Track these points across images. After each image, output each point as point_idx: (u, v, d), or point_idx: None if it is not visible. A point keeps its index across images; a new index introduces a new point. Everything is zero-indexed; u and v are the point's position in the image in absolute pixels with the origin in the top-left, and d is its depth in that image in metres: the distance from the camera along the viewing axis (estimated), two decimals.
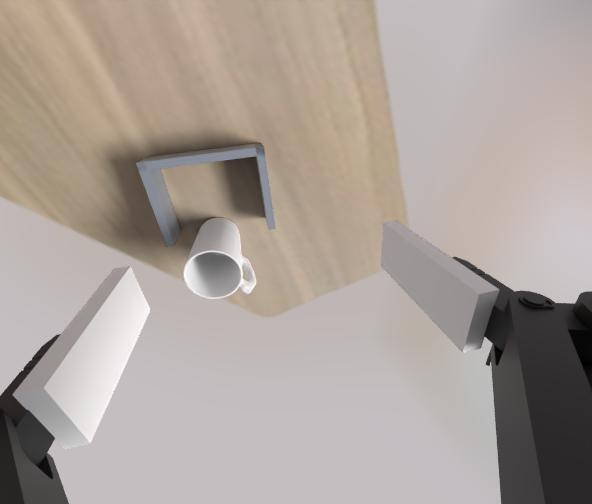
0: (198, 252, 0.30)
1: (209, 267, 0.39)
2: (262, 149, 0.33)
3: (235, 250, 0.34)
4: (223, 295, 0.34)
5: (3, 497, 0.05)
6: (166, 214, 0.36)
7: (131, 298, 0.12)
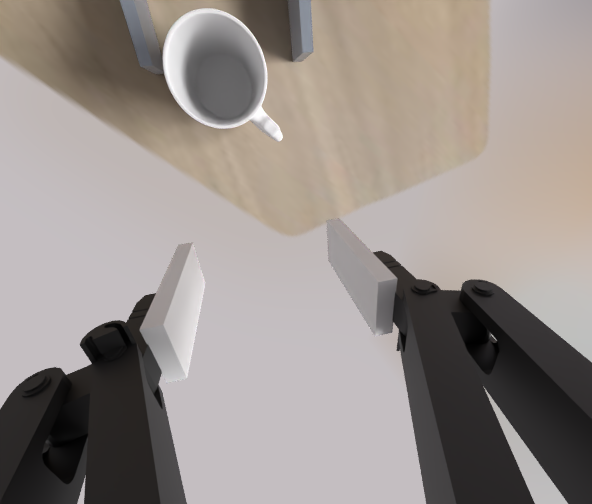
0: None
1: (209, 116, 0.25)
2: None
3: None
4: (233, 123, 0.20)
5: (135, 414, 0.06)
6: (139, 8, 0.22)
7: (195, 270, 0.14)
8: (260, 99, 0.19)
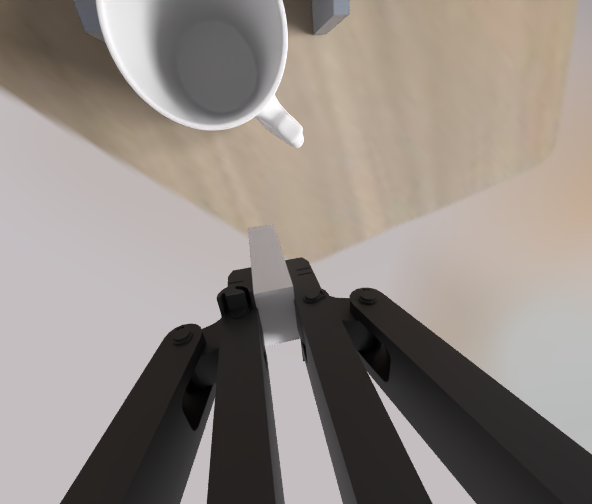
0: None
1: (195, 110, 0.17)
2: None
3: None
4: (229, 122, 0.12)
5: (253, 372, 0.07)
6: None
7: None
8: (275, 80, 0.11)
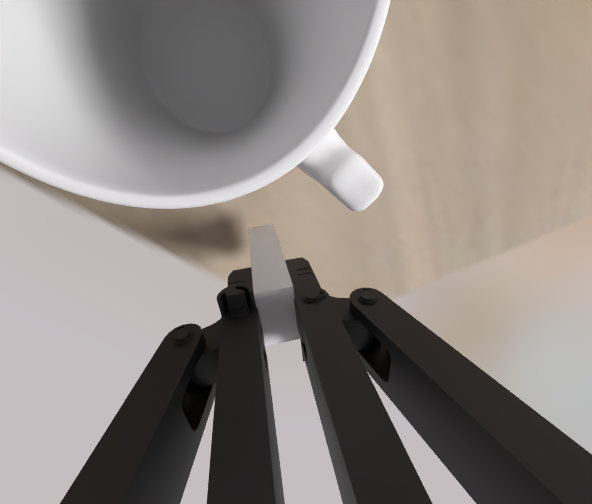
0: None
1: (167, 134, 0.10)
2: None
3: None
4: (223, 186, 0.04)
5: (253, 372, 0.07)
6: None
7: None
8: (348, 78, 0.04)
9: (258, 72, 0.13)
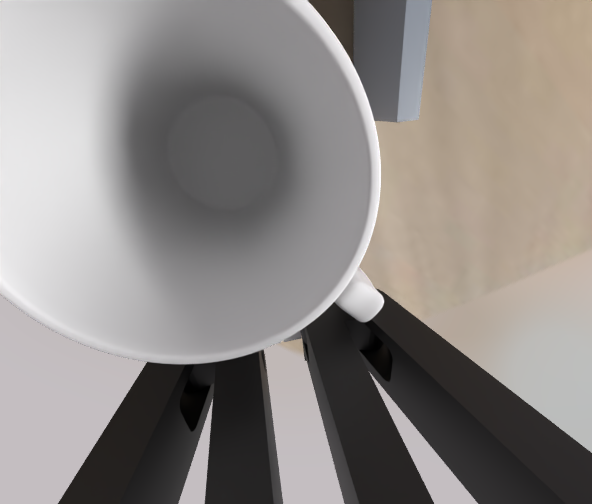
0: None
1: (194, 232, 0.11)
2: None
3: None
4: (257, 340, 0.06)
5: (251, 372, 0.07)
6: None
7: None
8: (349, 263, 0.05)
9: (268, 157, 0.14)
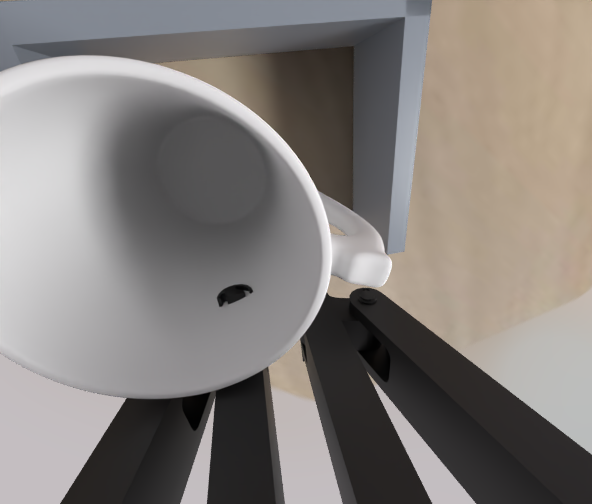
0: None
1: (215, 256, 0.12)
2: None
3: None
4: (278, 346, 0.06)
5: None
6: None
7: None
8: (321, 254, 0.05)
9: (250, 155, 0.14)
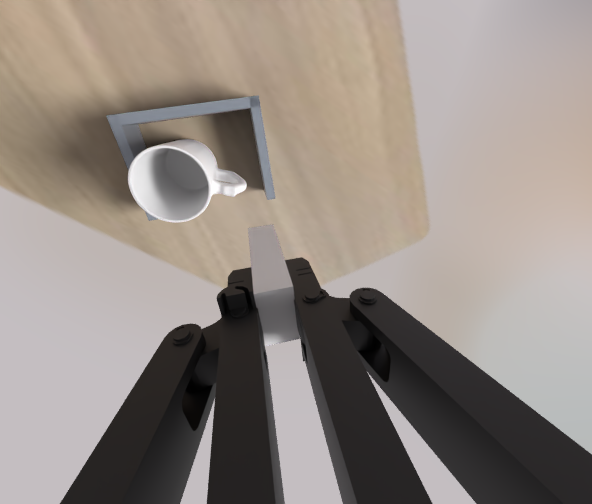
0: None
1: (191, 199, 0.31)
2: (257, 99, 0.28)
3: (185, 146, 0.25)
4: (202, 208, 0.25)
5: (253, 372, 0.07)
6: None
7: None
8: (208, 182, 0.24)
9: None
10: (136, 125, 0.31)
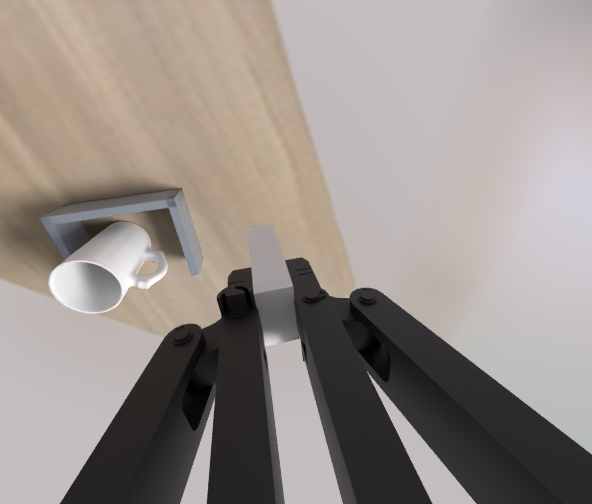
0: None
1: None
2: (173, 201, 0.33)
3: (102, 251, 0.29)
4: (117, 302, 0.30)
5: (253, 372, 0.07)
6: None
7: None
8: (120, 283, 0.29)
9: None
10: None
